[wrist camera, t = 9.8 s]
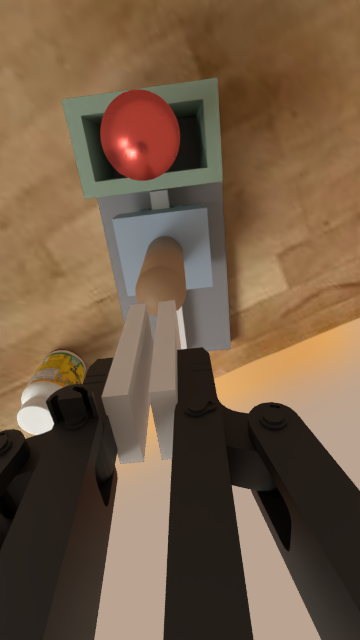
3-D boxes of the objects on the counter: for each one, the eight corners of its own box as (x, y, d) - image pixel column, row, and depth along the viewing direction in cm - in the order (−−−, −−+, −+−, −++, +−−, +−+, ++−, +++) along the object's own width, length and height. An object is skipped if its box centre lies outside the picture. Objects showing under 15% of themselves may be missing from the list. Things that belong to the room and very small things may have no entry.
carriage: (133, 280, 34) (105, 358, 20) (120, 212, 31) (77, 249, 17) (208, 271, 33) (231, 344, 20) (202, 201, 30) (225, 231, 17)
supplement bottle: (39, 350, 39) (1, 402, 31) (82, 347, 39) (56, 398, 31) (50, 384, 42) (18, 442, 33) (90, 382, 42) (68, 438, 33)
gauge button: (129, 179, 27) (109, 185, 19) (119, 118, 25) (91, 95, 17) (181, 172, 27) (184, 175, 18) (174, 111, 25) (174, 83, 16)
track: (133, 352, 40) (122, 404, 31) (84, 120, 29) (46, 101, 20) (228, 342, 39) (243, 391, 31) (215, 102, 28) (233, 75, 20)
